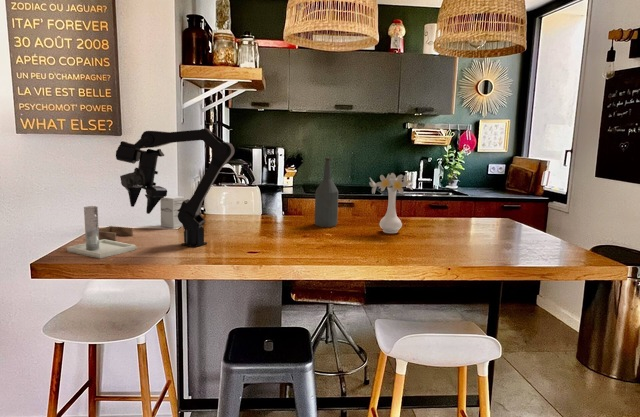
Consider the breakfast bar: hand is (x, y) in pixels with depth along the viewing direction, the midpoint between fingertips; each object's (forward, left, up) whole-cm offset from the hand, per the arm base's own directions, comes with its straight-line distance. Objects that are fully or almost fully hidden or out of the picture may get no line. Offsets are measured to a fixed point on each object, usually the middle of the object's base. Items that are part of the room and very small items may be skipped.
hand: (140, 210), depth 165 cm
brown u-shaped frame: (+15, -1, -12) cm, 19 cm away
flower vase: (-68, -71, -12) cm, 99 cm away
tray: (+2, +14, -12) cm, 19 cm away
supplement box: (+13, -29, -12) cm, 34 cm away
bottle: (-39, -69, -12) cm, 80 cm away
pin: (+4, +16, -11) cm, 20 cm away
